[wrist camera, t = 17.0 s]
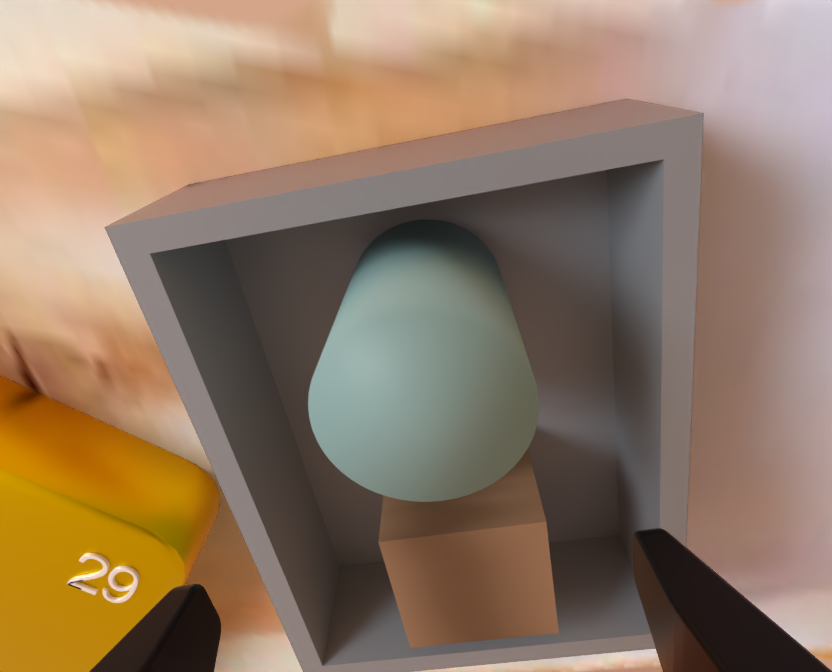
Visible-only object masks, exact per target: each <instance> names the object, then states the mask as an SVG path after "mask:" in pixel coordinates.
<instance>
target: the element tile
mask: <svg viewBox="0 0 832 672" xmlns="http://www.w3.org/2000/svg"><path fill="white" fill-rule="evenodd" d="M219 506H220V497H219V490H218V488H217V486H216V485H215V483H214V481H213V479H212V478H211V477H210V476H209V475H207V474H206V473H205V472H204V471H203V470H202V469H201V468H200V467H198V466H196V465H195V464H193V463H191V462H190V461H188V460H186V459H184V458H182V457H179V456H177V455H175V454H173V453H171V452H168V451H166V450H164V449H162V448H159V447H157V446H155V445H153V444H151V443H148V442H146V441H144V440H142V439H139V438H137V437H135V436H133V435H131V434H128V433H126V432H124V431H122V430H119V429H117V428H115V427H113V426H111V425H108V424H106V423H104V422H102V421H99V420H97V419H95V418H93V417H90V416H88V415H86V414H84V413H82V412H79V411H77V410H75V409H73V408H70V407H68V406H66V405H64V404H62V403H59V402H57V401H55V400H53V399H50V398H48V397H46V396H44V395H42V394H39V393H37V392H35V391H33V390H30V389H28V388H26V387H24V386H22V385H19V384H17V383H15V382H13V381H10V380H8V379H6V378H4V377H2V376H0V672H89V671H90V670H91V669H92V668H93V667H94V666H95V665H96V664H97V663H98V662H99V661H100V660H101V659H102V658H103V657H104V656H105V655H106V654H107V653H108V652H109V651H110V650H111V649H112V648H113V647H114V646H115V645H116V644H117V643H118V642H119V641H120V640H121V639H122V638H123V637H124V636H125V635H126V634H127V633H128V632H129V631H130V630H131V629H132V628H133V627H134V626H135V625H136V624H137V623H138V622H139V621H140V620H141V619H142V618H143V617H144V616H145V615H146V614H147V613H148V612H149V611H150V610H151V609H152V608H153V607H154V606H155V605H156V604H157V603H158V602H159V601H160V600H161V599H162V598H163V597H164V596H165V595H166V594H167V593H168V592H169V591H170V590H172V589H173V588H175V587H178V586H183V585H184V584H185V582H186V580H187V578H188V576H189V574H190V571H191V569H192V567H193V565H194V563H195V561H196V559H197V557H198V554H199V552H200V550H201V548H202V546H203V544H204V542H205V539H206V537H207V535H208V533H209V531H210V529H211V527H212V524H213V522H214V520H215V518H216V516H217V514H218V511H219Z"/></svg>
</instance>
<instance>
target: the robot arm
mask: <svg viewBox="0 0 832 672" xmlns="http://www.w3.org/2000/svg"><path fill="white" fill-rule="evenodd" d="M633 572H634V579H635V583H636V587H637V590H638V593H639V597H640V600H641V603H642V606H643V609H644V612H645V616H646V619H647V622H648V625H649V628H650V632H651V635H652V638H653V641H654V644H655V647H656V651H657V654H658V657H659V660H660V663H661V667H662V670H663V672H832V671H831V670H830V669H829V668H827V667H826V666H825V665H824V664H823V663H822V662H821V661H819V660H818V659H817V658H816V657H815V656H813V655H812V654H811V653H810V652H809V651H808V650H806V649H805V648H804V647H803V646H802V645H801V644H799V643H798V642H797V641H796V640H795V639H793V638H792V637H791V636H790V635H789V634H788V633H786V632H785V631H784V630H783V629H782V628H781V627H779V626H778V625H777V624H776V623H775V622H773V621H772V620H771V619H770V618H769V617H768V616H766V615H765V614H764V613H763V612H762V611H760V610H759V609H758V608H757V607H756V606H755V605H753V604H752V603H751V602H750V601H749V600H748V599H746V598H745V597H744V596H743V595H742V594H740V593H739V592H738V591H737V590H736V589H735V588H733V587H732V586H731V585H730V584H729V583H727V582H726V581H725V580H724V579H723V578H722V577H720V576H719V575H718V574H717V573H716V572H715V571H713V570H712V569H711V568H710V567H709V566H707V565H706V564H705V563H704V562H703V561H702V560H700V559H699V558H698V557H697V556H696V555H695V554H693V553H692V552H691V551H690V550H689V549H687V548H686V547H685V546H684V545H683V544H682V543H680V542H679V541H678V540H677V539H676V538H674V537H673V536H672V535H671V534H670V533H669V532H667V531H666V530H664V529H661V528H655V529H647V530H638V531H636V532H635V533H634V535H633ZM220 634H221V622H220V618H219V615H218V613H217V611H216V609H215V608H214V606H213V604H212V602H211V600H210V598H209V596H208V594H207V592H206V590H205V589H204V587H203V586H201V585H200V584H192V585H184V586H178V587H175V588H173V589H172V590H170V591H169V592H168V593H167V594H166V595H165V596H164V597H163V598H162V599H161V600H160V601H159V602H158V603H157V604H156V605H155V606H154V607H153V608H152V609H151V610H150V611H149V612H148V613H147V614H146V615H145V616H144V617H143V618H142V619H141V620H140V621H139V622H138V623H137V624H136V625H135V626H134V627H133V628H132V629H131V630H130V631H129V632H128V633H127V634H126V635H125V636H124V637H123V638H122V639H121V640H120V641H119V642H118V643H117V644H116V645H115V646H114V647H113V648H112V649H111V650H110V651H109V652H108V653H107V654H106V655H105V656H104V657H103V658H102V659H101V660H100V661H99V662H98V663H97V664H96V665H95V666H94V667H93V668H92V669H91V670H90V671H89V672H214V668H215V662H216V657H217V651H218V646H219V640H220Z"/></svg>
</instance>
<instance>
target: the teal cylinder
mask: <svg viewBox="0 0 832 672" xmlns="http://www.w3.org/2000/svg"><path fill="white" fill-rule="evenodd" d="M308 410H309V419H310V423H311V427H312V430H313V433H314V435H315V437H316V440H317V442H318V444H319V445H320V447H321V449H322V450H323V452H324V453H325V455H326V456H327V457H328V459H329V460H330V461H331V462H332V463H333V464H334V465H335V466H336V467H337V468H338V469H339V470H340V471H341V472H342V473H343V474H345V475H346V476H347V477H348V478H350V479H351V480H353V481H354V482H356V483H358V484H359V485H361V486H363V487H365V488H367V489H369V490H371V491H373V492H376V493H379V494H381V495H384V496H387V497H391V498H396V499H400V500H407V501H415V502H434V501H444V500H450V499H456V498H459V497H463V496H466V495H469V494H472V493H474V492H477V491H479V490H482V489H484V488H485V487H487V486H489V485H491V484H493V483H494V482H496V481H497V480H499V479H500V478H501V477H503V476H504V475H505V474H506V473H507V472H509V471H510V470H511V469H512V468H513V467H514V466H515V465H516V464H517V462H518V461H519V460H520V459H521V458H522V456H523V455H524V453H525V452H526V450H527V449H528V447H529V445H530V443H531V441H532V439H533V436H534V434H535V430H536V427H537V423H538V416H539V395H538V390H537V385H536V381H535V378H534V375H533V372H532V369H531V366H530V363H529V360H528V356H527V353H526V350H525V347H524V344H523V341H522V338H521V335H520V332H519V329H518V325H517V322H516V319H515V316H514V313H513V310H512V307H511V304H510V301H509V298H508V294H507V291H506V288H505V285H504V282H503V279H502V276H501V273H500V270H499V267H498V264H497V262H496V260H495V258H494V256H493V255H492V253H491V252H490V250H489V249H488V248H487V246H486V245H485V244H484V243H483V242H482V241H481V240H480V239H479V238H477V237H476V236H475V235H474V234H472V233H471V232H469V231H468V230H466V229H464V228H462V227H460V226H458V225H455V224H452V223H449V222H445V221H440V220H428V219H422V220H414V221H409V222H405V223H402V224H399V225H397V226H394V227H392V228H390V229H388V230H387V231H385V232H383V233H382V234H381V235H379V236H378V237H377V238H375V239H374V240H373V241H372V242H371V243H370V244H369V245H368V247H367V248H366V249H365V251H364V252H363V253H362V255H361V257H360V259H359V261H358V263H357V265H356V268H355V270H354V273H353V276H352V278H351V281H350V283H349V286H348V288H347V291H346V293H345V296H344V298H343V301H342V303H341V306H340V309H339V311H338V314H337V316H336V319H335V321H334V324H333V326H332V329H331V331H330V334H329V336H328V339H327V342H326V344H325V347H324V349H323V352H322V354H321V357H320V359H319V362H318V364H317V367H316V369H315V372H314V375H313V377H312V380H311V384H310V389H309V397H308Z"/></svg>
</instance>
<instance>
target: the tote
mask: <svg viewBox="0 0 832 672" xmlns="http://www.w3.org/2000/svg"><path fill="white" fill-rule="evenodd" d="M703 117H704V113H700V112H695V111H690V110H684V109H679V108H673V107H668V106H663V105H657V104H652V103H647V102H641V101H636V100H631V99H624V100H618V101H613V102H608V103H603V104H598V105H593V106H588V107H583V108H578V109H573V110H567V111H562V112H557V113H552V114H547V115H542V116H537V117H532V118H527V119H521V120H516V121H511V122H506V123H501V124H496V125H491V126H486V127H481V128H475V129H470V130H465V131H460V132H455V133H450V134H445V135H440V136H435V137H430V138H424V139H419V140H414V141H409V142H404V143H399V144H394V145H389V146H384V147H378V148H373V149H368V150H363V151H358V152H353V153H348V154H343V155H338V156H332V157H327V158H322V159H317V160H312V161H307V162H302V163H297V164H292V165H286V166H281V167H276V168H271V169H266V170H261V171H256V172H251V173H246V174H241V175H235V176H230V177H225V178H220V179H215V180H210V181H205V182H200V183H195V184H189V185H187V186H185V187H183V188H181V189H179V190H177V191H175V192H173V193H171V194H169V195H167V196H165V197H163V198H161V199H159V200H157V201H155V202H153V203H151V204H149V205H147V206H145V207H143V208H142V209H140V210H138V211H136V212H134V213H132V214H130V215H128V216H126V217H124V218H122V219H120V220H118V221H116V222H114V223H112V224H110V225H108V226H106V227H105V229H106V231H107V234H108V236H109V238H110V240H111V243H112V245H113V247H114V249H115V252H116V254H117V256H118V258H119V261H120V263H121V265H122V267H123V270H124V272H125V274H126V276H127V278H128V281H129V283H130V285H131V287H132V290H133V292H134V294H135V296H136V299H137V301H138V303H139V305H140V308H141V310H142V312H143V314H144V317H145V319H146V321H147V323H148V325H149V328H150V330H151V332H152V334H153V337H154V339H155V341H156V343H157V346H158V348H159V350H160V352H161V355H162V357H163V359H164V361H165V364H166V366H167V368H168V370H169V372H170V375H171V377H172V379H173V381H174V384H175V386H176V388H177V390H178V393H179V395H180V397H181V399H182V402H183V404H184V406H185V408H186V411H187V413H188V415H189V417H190V419H191V422H192V424H193V426H194V428H195V431H196V433H197V435H198V437H199V440H200V442H201V444H202V446H203V449H204V451H205V453H206V455H207V458H208V460H209V462H210V464H211V466H212V469H213V471H214V473H215V475H216V478H217V480H218V482H219V484H220V487H221V489H222V491H223V493H224V496H225V498H226V500H227V502H228V505H229V507H230V509H231V511H232V513H233V516H234V518H235V520H236V522H237V525H238V527H239V529H240V531H241V534H242V536H243V538H244V540H245V543H246V545H247V547H248V549H249V552H250V554H251V556H252V558H253V560H254V563H255V565H256V567H257V569H258V572H259V574H260V576H261V578H262V581H263V583H264V585H265V587H266V590H267V592H268V594H269V596H270V599H271V601H272V603H273V605H274V607H275V610H276V612H277V614H278V616H279V619H280V621H281V623H282V625H283V628H284V630H285V632H286V634H287V637H288V639H289V641H290V643H291V646H292V648H293V650H294V652H295V654H296V657H297V659H298V661H299V663H300V666H301V668H302V670H303V672H411V671H422V670H433V669H443V668H454V667H464V666H475V665H485V664H496V663H507V662H517V661H528V660H538V659H549V658H559V657H570V656H581V655H591V654H602V653H612V652H623V651H633V650H644V649H655V648H656V647H655V644H654V641H653V638H652V635H651V632H650V628H649V625H648V622H647V619H646V616H645V612H644V609H643V606H642V603H641V600H640V597H639V593H638V590H637V587H636V583H635V579H634V572H633V535H634V533H635V532H636V531H638V530H647V529H655V528H661V529H664V530H666V531H667V532H669V533H670V534H671V535H672V536H673V537H674V538H676V539H677V540H678V541H679V542H680V543H682V544H683V545H684V546H685V547H686V534H687V509H688V485H689V460H690V436H691V411H692V387H693V362H694V338H695V313H696V288H697V264H698V239H699V215H700V190H701V166H702V141H703ZM422 219H428V220H440V221H445V222H449V223H452V224H455V225H458V226H460V227H462V228H464V229H466V230H468V231H469V232H471V233H472V234H474V235H475V236H476V237H477V238H479V239H480V240H481V241H482V242H483V243H484V244H485V245H486V246H487V248H488V249H489V250H490V252H491V253H492V255H493V256H494V258H495V260H496V262H497V264H498V267H499V270H500V273H501V276H502V279H503V282H504V285H505V288H506V291H507V294H508V298H509V301H510V304H511V307H512V310H513V313H514V316H515V319H516V322H517V325H518V329H519V332H520V335H521V338H522V341H523V344H524V347H525V350H526V353H527V356H528V360H529V363H530V366H531V369H532V372H533V375H534V378H535V381H536V385H537V390H538V395H539V416H538V423H537V427H536V430H535V434H534V436H533V439H532V441H531V443H530V445H529V447H528V451H529V455H530V459H531V463H532V467H533V471H534V475H535V479H536V483H537V487H538V491H539V495H540V499H541V503H542V507H543V511H544V515H545V519H546V523H547V532H548V541H549V550H550V559H551V568H552V577H553V586H554V594H555V603H556V612H557V621H558V630H559V633H554V634H544V635H533V636H523V637H513V638H503V639H493V640H483V641H473V642H463V643H453V644H443V645H433V646H423V647H413V648H410V646H409V642H408V639H407V636H406V632H405V629H404V626H403V622H402V619H401V616H400V612H399V609H398V606H397V602H396V599H395V596H394V592H393V589H392V586H391V582H390V579H389V576H388V572H387V569H386V566H385V562H384V559H383V556H382V552H381V549H380V546H379V543H378V541H379V532H380V522H381V513H382V504H383V495H381V494H379V493H376V492H373V491H371V490H369V489H367V488H365V487H363V486H361V485H359V484H358V483H356V482H354V481H353V480H351V479H350V478H348V477H347V476H346V475H345V474H343V473H342V472H341V471H340V470H339V469H338V468H337V467H336V466H335V465H334V464H333V463H332V462H331V461H330V460H329V459H328V457H327V456H326V455H325V453H324V452H323V450H322V449H321V447H320V445H319V444H318V442H317V440H316V437H315V435H314V433H313V430H312V427H311V423H310V419H309V410H308V397H309V389H310V384H311V380H312V377H313V375H314V372H315V369H316V367H317V364H318V362H319V359H320V357H321V354H322V352H323V349H324V347H325V344H326V342H327V339H328V336H329V334H330V331H331V329H332V326H333V324H334V321H335V319H336V316H337V314H338V311H339V309H340V306H341V303H342V301H343V298H344V296H345V293H346V291H347V288H348V286H349V283H350V281H351V278H352V276H353V273H354V270H355V268H356V265H357V263H358V261H359V259H360V257H361V255H362V253H363V252H364V251H365V249H366V248H367V247H368V245H369V244H370V243H371V242H372V241H373V240H374V239H375V238H377V237H378V236H379V235H381V234H382V233H383V232H385V231H387V230H388V229H390V228H392V227H394V226H397V225H399V224H402V223H405V222H409V221H414V220H422Z"/></svg>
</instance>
